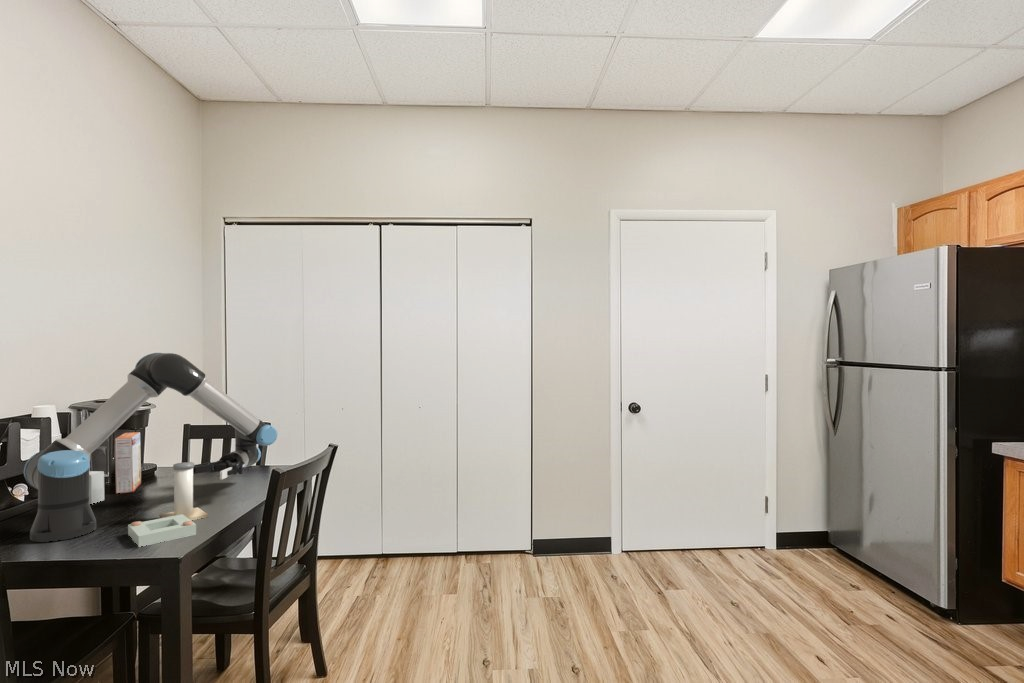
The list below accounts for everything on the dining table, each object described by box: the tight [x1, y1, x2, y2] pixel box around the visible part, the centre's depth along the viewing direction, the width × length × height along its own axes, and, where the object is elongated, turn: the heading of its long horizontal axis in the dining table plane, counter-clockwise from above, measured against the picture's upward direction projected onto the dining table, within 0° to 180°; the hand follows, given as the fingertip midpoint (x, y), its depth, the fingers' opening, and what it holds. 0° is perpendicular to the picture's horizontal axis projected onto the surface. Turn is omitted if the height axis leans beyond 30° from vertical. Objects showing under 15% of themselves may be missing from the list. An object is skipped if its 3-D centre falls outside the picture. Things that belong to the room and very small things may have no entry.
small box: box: [89, 470, 105, 505], centre depth 195 cm, size 8×6×10 cm
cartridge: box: [172, 461, 195, 516], centre depth 177 cm, size 6×6×16 cm
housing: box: [127, 514, 197, 548], centre depth 160 cm, size 14×14×4 cm
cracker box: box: [114, 431, 142, 494], centre depth 213 cm, size 14×6×21 cm, turn 23°
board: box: [159, 507, 209, 521], centre depth 177 cm, size 11×11×1 cm
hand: (200, 475), depth 186 cm, fingers open, 13 cm apart
